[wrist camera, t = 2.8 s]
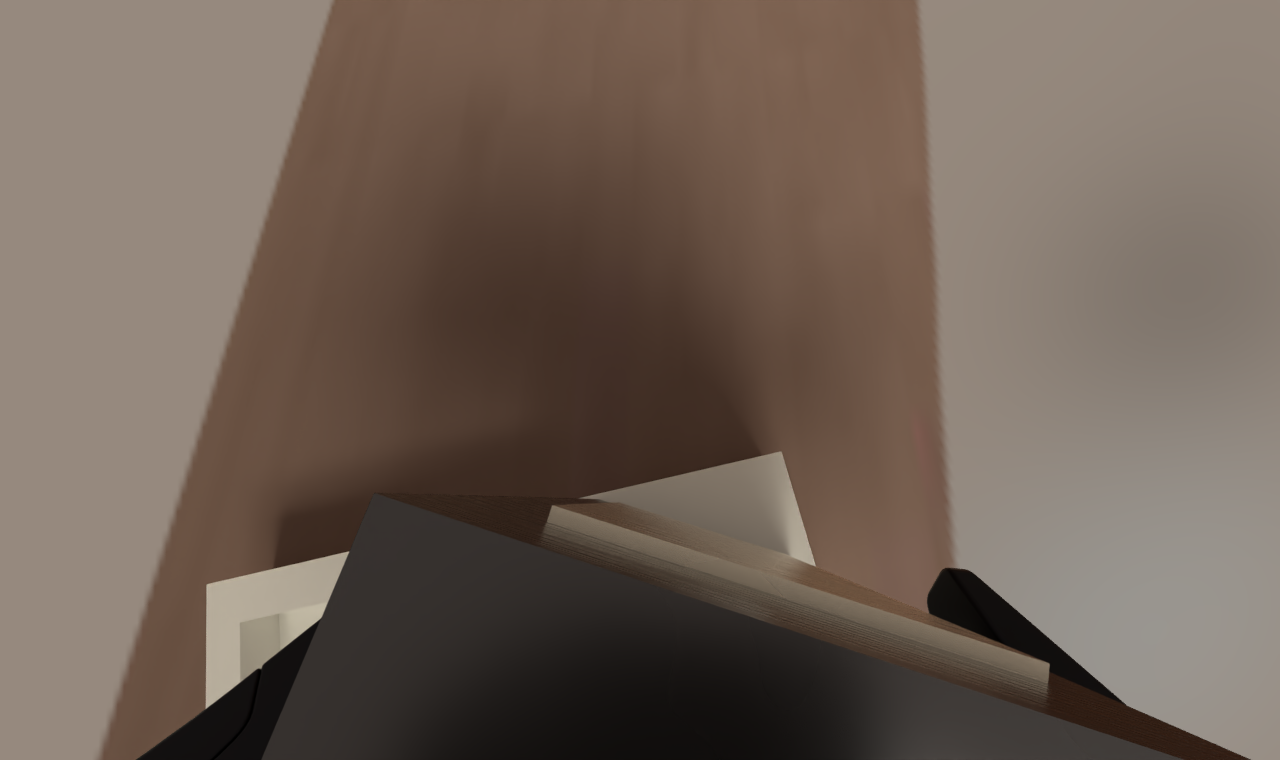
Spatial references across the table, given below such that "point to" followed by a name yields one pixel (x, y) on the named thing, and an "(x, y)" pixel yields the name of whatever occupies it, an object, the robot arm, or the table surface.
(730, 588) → the charcoal grey box
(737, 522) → the recessed rectangular block
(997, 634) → the robot arm
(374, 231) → the table surface
